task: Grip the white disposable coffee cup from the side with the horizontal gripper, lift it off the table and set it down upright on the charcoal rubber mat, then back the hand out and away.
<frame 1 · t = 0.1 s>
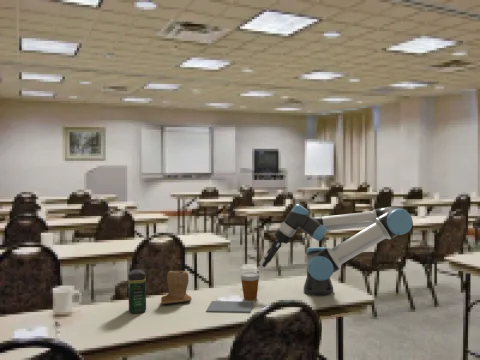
hand: (260, 268, 212), 15 cm above the table, tool tilted 35°, fingers open, 13 cm apart
tan ankle boots: (175, 302, 211), on the table
coffee jar: (137, 310, 199), on the table
disposable coffee cup: (250, 298, 214), on the table
rubber mat: (230, 307, 201), on the table
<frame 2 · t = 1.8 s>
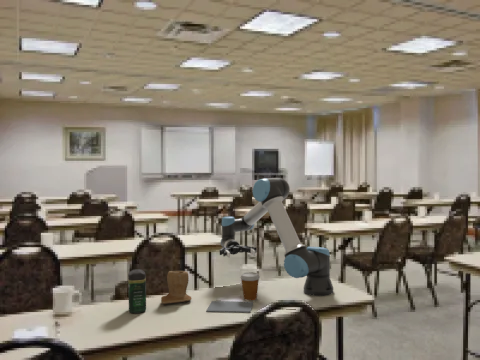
hand: (242, 254, 222), 20 cm above the table, tool horizontal, fingers open, 13 cm apart
nothing on the table moved.
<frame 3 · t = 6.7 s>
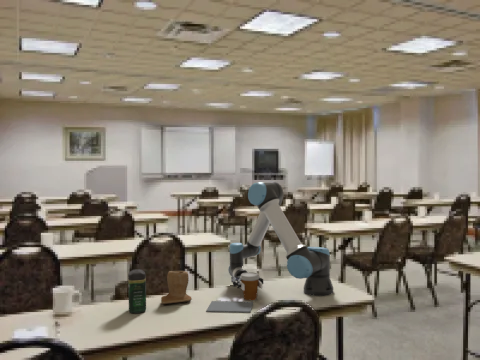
hand: (252, 286, 209), 7 cm above the table, tool horizontal, fingers closed on disposable coffee cup, 8 cm apart
disposable coffee cup: (250, 298, 214), on the table, touching gripper
everything else where it was.
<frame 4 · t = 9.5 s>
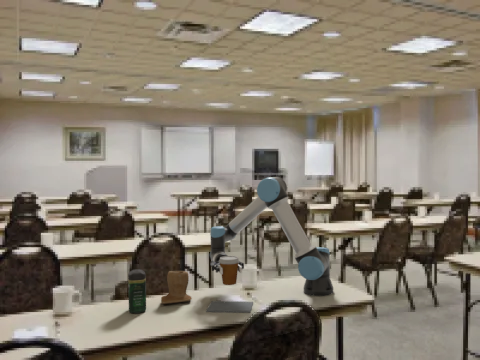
hand: (231, 270, 196), 18 cm above the table, tool horizontal, fingers closed on disposable coffee cup, 8 cm apart
disposable coffee cup: (229, 283, 201), point 11 cm above the table, touching gripper
everything else where it was.
when the fingers open (9 cm above the table, at t = 12.5 s): disposable coffee cup drops 1 cm, resting on rubber mat.
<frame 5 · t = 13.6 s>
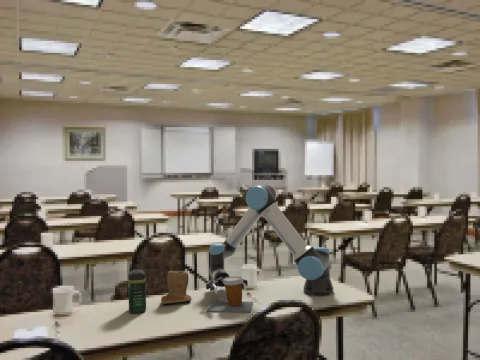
hand: (230, 289, 199), 9 cm above the table, tool horizontal, fingers open, 13 cm apart
disposable coffee cup: (235, 304, 203), point 1 cm above the table, touching gripper, rubber mat
everything else where it was.
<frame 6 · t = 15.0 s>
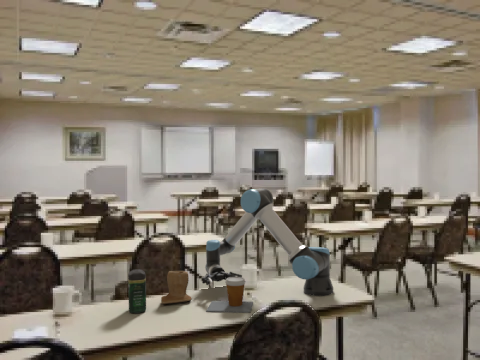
hand: (225, 283, 209), 9 cm above the table, tool horizontal, fingers open, 13 cm apart
disposable coffee cup: (235, 304, 203), resting on rubber mat
everything else where it was.
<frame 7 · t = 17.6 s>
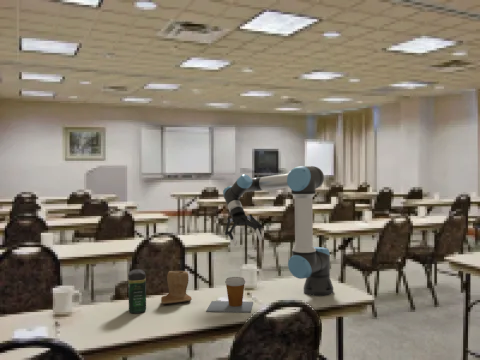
hand: (248, 242, 220), 27 cm above the table, tool tilted 45°, fingers open, 13 cm apart
nothing on the table moved.
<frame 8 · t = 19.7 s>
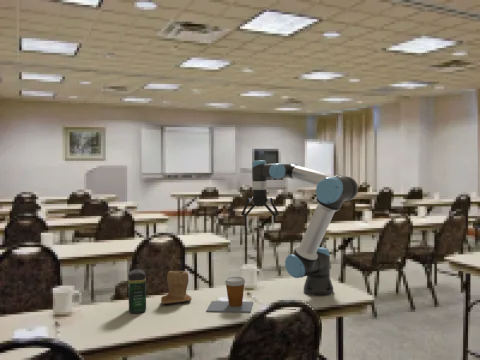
hand: (260, 228, 233), 32 cm above the table, tool pointing down, fingers open, 13 cm apart
nothing on the table moved.
at the end: disposable coffee cup inside the target area (3.1 cm from its centre), resting on rubber mat; disposable coffee cup tilted 0°; disposable coffee cup touching rubber mat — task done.
